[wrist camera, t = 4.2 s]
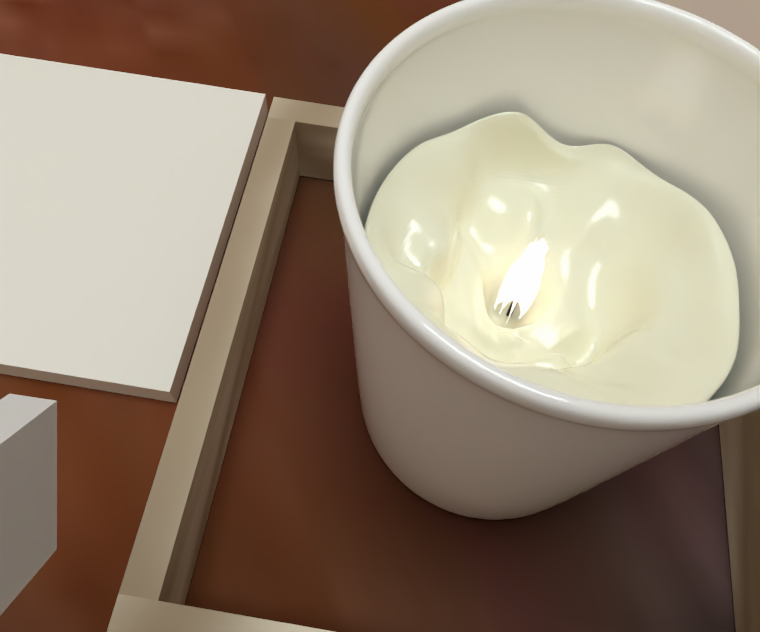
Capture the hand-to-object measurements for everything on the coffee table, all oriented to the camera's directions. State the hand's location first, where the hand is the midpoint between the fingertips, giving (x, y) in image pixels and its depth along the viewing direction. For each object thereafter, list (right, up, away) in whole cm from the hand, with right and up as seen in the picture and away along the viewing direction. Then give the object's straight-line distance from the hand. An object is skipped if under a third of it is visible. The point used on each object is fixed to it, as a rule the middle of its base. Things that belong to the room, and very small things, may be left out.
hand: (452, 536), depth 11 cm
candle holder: (+2, +1, +12) cm, 13 cm away
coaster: (-13, +7, +15) cm, 21 cm away
